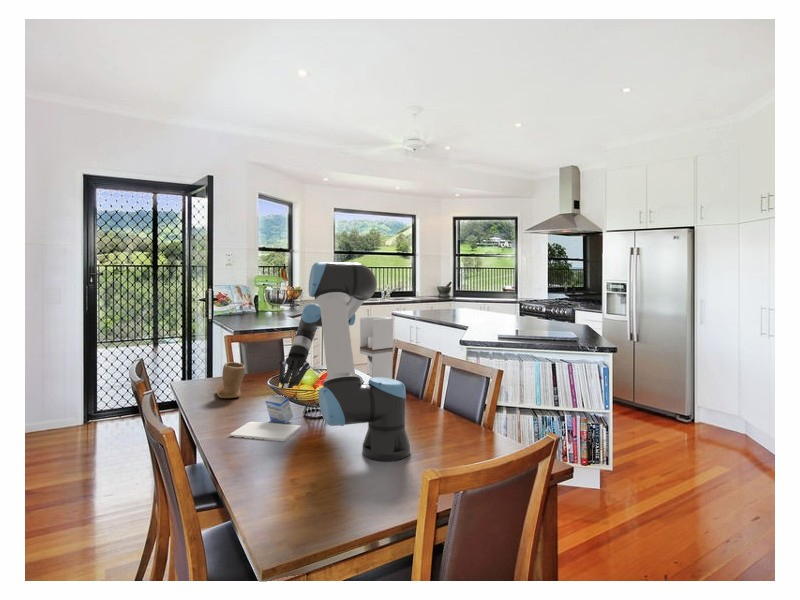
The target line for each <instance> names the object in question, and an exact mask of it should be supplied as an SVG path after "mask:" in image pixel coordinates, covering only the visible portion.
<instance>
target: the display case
mask: <svg viewBox="0 0 800 600" xmlns="http://www.w3.org/2000/svg"><path fill="white" fill-rule="evenodd" d="M359 323H360V325H359V355H364V356H367V365H366V366H367V368H366V369H367V372H366V373H367V375H368V376H369V377H370V378H374V377H381V378H389V379H393V365H394V363H393V360H394V358H393V357H394V355H393V354H394V349H393V348H394V318H393V317H388V316H382V315H381V316H376V315H375V316H363V317H362V316H361V317H359Z"/></svg>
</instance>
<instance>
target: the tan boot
mask: <svg viewBox="0 0 800 600" xmlns="http://www.w3.org/2000/svg"><path fill="white" fill-rule="evenodd" d="M245 373H246V365H245V364H243V363H239V362H235V361H228V362H226V363H225V364H224V365H223V367H222V375H221V376H222V383H223V384H222V385H219V386H217V388H216V394H217V396H218V397H219V398H221V399H233V398H239V397H240V396H241V395H242V392H241V389H240V387H241V383H242V382H243V380H244V377H245Z"/></svg>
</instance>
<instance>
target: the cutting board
mask: <svg viewBox="0 0 800 600" xmlns="http://www.w3.org/2000/svg"><path fill="white" fill-rule="evenodd" d="M301 428H302V426H301V425H299V424H297V425H296V424H288V423H275V422H274V423H273V422H263V421H249V422H247V423H245V424H244V425H242V426H241V427H239V428H237V429H236V430H234V431H232V432H231V433H229V437H230V436H234V437H233V438H241V437H244V438H243V439H252V438H254V440H263V439H264V440H265V441H274V442H286V441H287V440H288V439H289V438H290V437H291V436H293V435H294V434H296V432H298V431H299V430H300V429H301Z"/></svg>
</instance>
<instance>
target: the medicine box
mask: <svg viewBox="0 0 800 600" xmlns="http://www.w3.org/2000/svg"><path fill="white" fill-rule="evenodd" d="M265 405H266V409H267V413H268V415H269V420H270V421H273V422H279V423H281V424H288V422H289V421H290V420H292V419H293V418H294V414H293V410H292V406H291V403H290V399H289V397H287V398H284V397H280V395H279V396H277V395H271V396H270V397H268V398H267V399H265Z"/></svg>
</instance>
